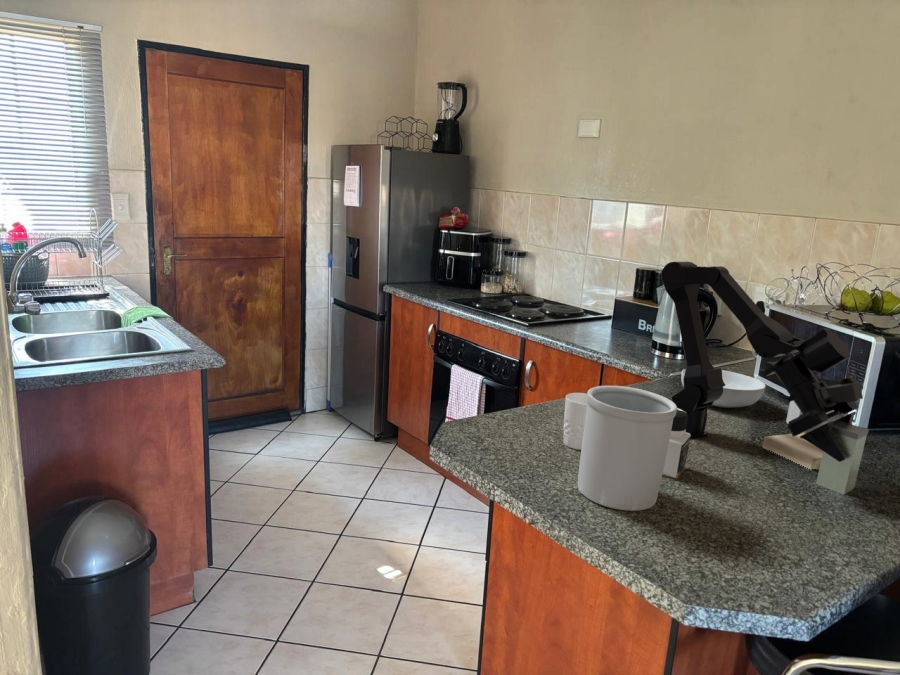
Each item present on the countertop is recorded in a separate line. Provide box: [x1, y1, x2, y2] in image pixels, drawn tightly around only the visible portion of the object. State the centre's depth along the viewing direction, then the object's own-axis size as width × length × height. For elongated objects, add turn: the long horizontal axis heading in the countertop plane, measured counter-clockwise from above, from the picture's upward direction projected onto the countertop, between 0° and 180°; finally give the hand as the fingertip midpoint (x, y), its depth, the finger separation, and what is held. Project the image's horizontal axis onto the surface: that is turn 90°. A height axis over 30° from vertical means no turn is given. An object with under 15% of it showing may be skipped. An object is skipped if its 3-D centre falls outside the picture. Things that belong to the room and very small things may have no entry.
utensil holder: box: [577, 385, 677, 512], centre depth 113 cm, size 15×15×18 cm
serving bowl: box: [680, 368, 767, 409], centre depth 173 cm, size 21×21×7 cm
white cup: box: [562, 392, 588, 451], centre depth 135 cm, size 8×8×10 cm
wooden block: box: [762, 433, 823, 471], centre depth 140 cm, size 12×12×3 cm
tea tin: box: [815, 421, 869, 495], centre depth 124 cm, size 5×5×12 cm
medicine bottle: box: [662, 408, 692, 479], centre depth 126 cm, size 7×7×12 cm
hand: (850, 456), depth 123 cm, fingers open, 7 cm apart
